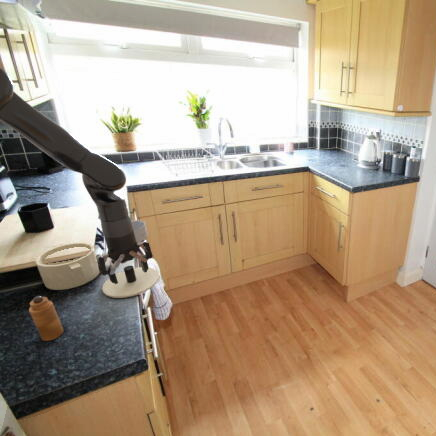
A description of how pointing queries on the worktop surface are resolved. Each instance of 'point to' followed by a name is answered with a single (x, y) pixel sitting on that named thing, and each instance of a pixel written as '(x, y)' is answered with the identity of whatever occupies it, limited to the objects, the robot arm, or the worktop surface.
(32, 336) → the worktop surface
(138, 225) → the teacup
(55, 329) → the pepper mill
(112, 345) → the worktop surface
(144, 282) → the pot lid
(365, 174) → the worktop surface
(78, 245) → the pot
